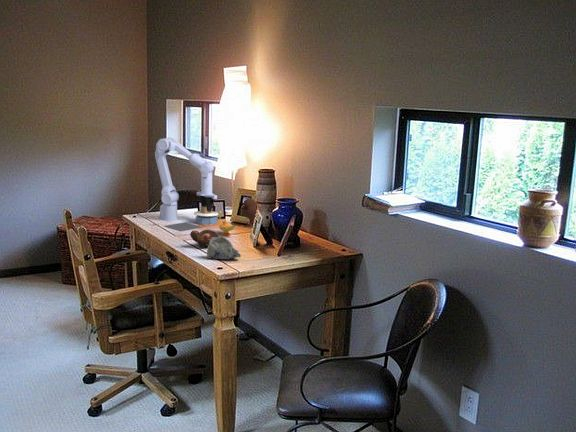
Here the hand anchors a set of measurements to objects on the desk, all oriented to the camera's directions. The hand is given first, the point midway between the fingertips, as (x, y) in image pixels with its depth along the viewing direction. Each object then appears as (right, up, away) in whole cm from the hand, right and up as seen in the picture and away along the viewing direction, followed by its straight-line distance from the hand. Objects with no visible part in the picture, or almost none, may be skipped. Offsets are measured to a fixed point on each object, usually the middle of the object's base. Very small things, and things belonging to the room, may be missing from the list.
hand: (206, 210), depth 306 cm
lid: (0, -2, 0) cm, 2 cm away
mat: (-11, -9, -10) cm, 17 cm away
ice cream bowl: (+24, -8, -2) cm, 25 cm away
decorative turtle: (+6, -17, -44) cm, 48 cm away
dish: (0, -7, +1) cm, 7 cm away
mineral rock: (+16, -21, -63) cm, 68 cm away
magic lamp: (+14, -12, -23) cm, 29 cm away
